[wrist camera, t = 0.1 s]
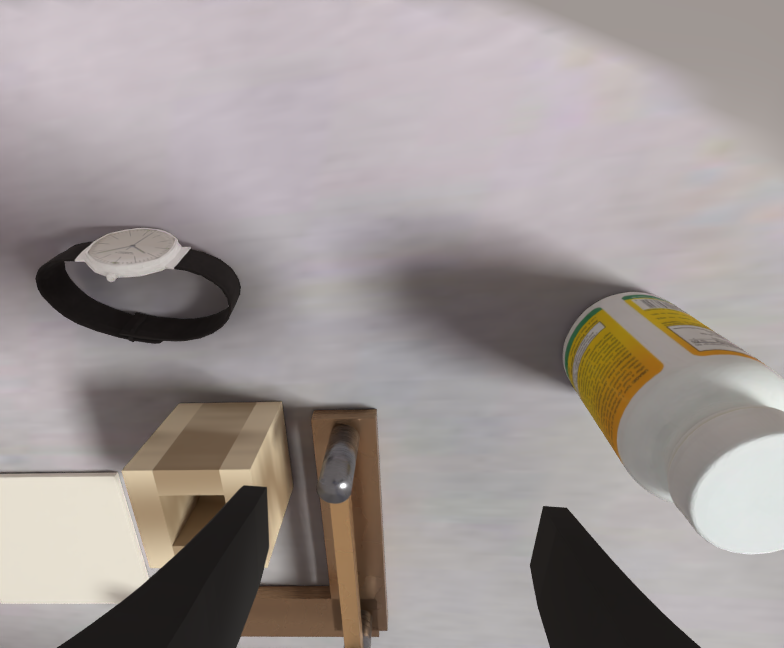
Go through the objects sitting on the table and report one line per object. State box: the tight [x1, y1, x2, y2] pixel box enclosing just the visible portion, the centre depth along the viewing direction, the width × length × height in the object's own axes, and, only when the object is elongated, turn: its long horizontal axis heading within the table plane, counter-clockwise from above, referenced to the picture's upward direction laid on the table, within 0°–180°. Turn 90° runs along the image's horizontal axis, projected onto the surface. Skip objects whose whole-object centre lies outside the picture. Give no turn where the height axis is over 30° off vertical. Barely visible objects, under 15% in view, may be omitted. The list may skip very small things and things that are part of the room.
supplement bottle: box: [563, 292, 784, 554], centre depth 17 cm, size 5×5×10 cm
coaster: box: [0, 473, 149, 604], centre depth 26 cm, size 9×9×1 cm
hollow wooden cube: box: [122, 402, 293, 568], centre depth 22 cm, size 5×5×5 cm
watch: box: [36, 228, 241, 344], centre depth 19 cm, size 8×5×4 cm, turn 86°
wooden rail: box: [241, 409, 388, 648], centre depth 24 cm, size 14×12×4 cm
